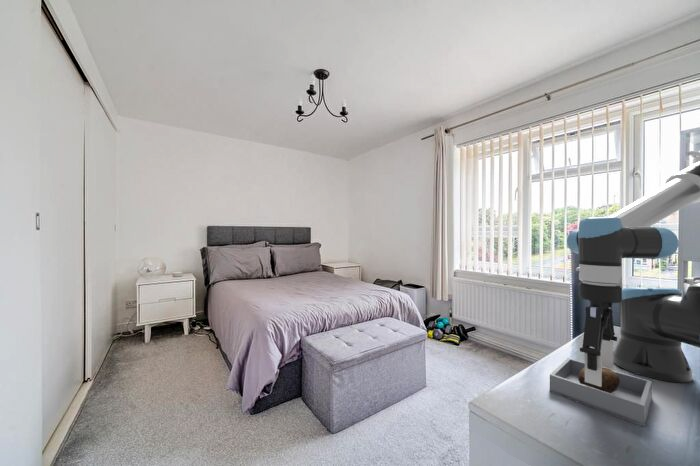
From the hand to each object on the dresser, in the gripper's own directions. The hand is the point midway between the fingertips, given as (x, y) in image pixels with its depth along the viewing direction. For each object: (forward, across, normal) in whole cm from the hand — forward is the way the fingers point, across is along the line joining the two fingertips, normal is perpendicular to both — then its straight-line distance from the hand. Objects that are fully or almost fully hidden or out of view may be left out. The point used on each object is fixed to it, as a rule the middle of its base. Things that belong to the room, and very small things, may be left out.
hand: (599, 374), depth 64 cm
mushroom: (+4, 0, 0) cm, 4 cm away
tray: (+5, 0, 0) cm, 5 cm away
